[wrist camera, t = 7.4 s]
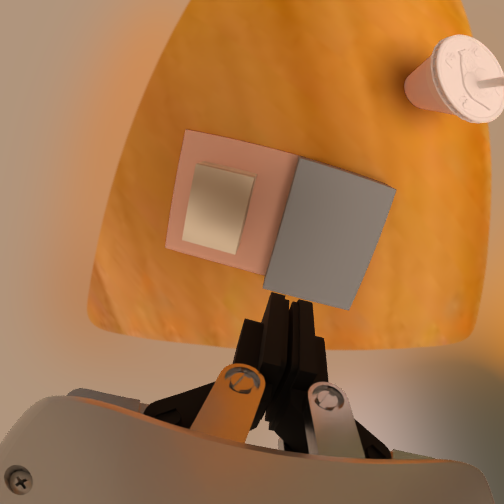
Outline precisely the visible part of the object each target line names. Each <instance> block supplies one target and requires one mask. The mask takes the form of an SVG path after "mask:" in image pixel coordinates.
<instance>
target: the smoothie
mask: <svg viewBox="0 0 504 504" xmlns="http://www.w3.org/2000/svg"><path fill="white" fill-rule="evenodd" d="M404 90H405V94H406V96H407V98H408V100H409V101H410V102H411V103H412V104H413V105H414V106H416V107H418V108H420V109H425V110H431V111H437V112H442V113H448V114H453V115H457V116H458V117H459V118H461V119H463V120H466V121H468V122H471V123H485V122H490V121H492V120H495V119H496V118H497V117H498V116H499V115H500V114H501V113H502V111H503V109H504V74H503V71H502V69H501V67H500V65H499V63H498V61H497V59H496V58H495V57H494V55H493V54H492V53H491V51H490V50H489V49H488V48H487V47H486V46H484V45H483V44H482V43H481V42H479V41H478V40H476V39H474V38H472V37H469V36H466V35H453V36H451V37H447V38H445V39H443V40H441V41H439V43H438V44H437V45H436V46H435V48H434V50H433V53H432V55H431V56H430V57H429V58H428V59H426V60H425V61H424V62H423V63H422V64H421V65H420V66H419V67H418V68H416V69H415V70H414V71H413V72H412V73H411V74H410V75H409V76H408V77H407V78H406V80H405V84H404Z"/></svg>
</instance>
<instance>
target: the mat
mask: <svg viewBox="0 0 504 504" xmlns="http://www.w3.org/2000/svg"><path fill="white" fill-rule="evenodd" d="M298 158H299V155H295V154H291V153H288V152H284V151H280V150H277V149H273V148H269V147H265V146H261V145H257V144H253V143H249V142H244V141H240V140H236V139H231V138H227V137H222V136H217V135H213V134H208V133H203V132H198V131H192V130H185V135H184V140H183V144H182V149H181V154H180V159H179V165H178V170H177V175H176V181H175V187H174V192H173V198H172V204H171V211H170V217H169V224H168V231H167V238H166V245H165V248H168V249H171V250H175V251H178V252H182V253H185V254H189V255H192V256H196V257H199V258H203V259H206V260H210V261H214V262H217V263H221V264H224V265H228V266H232V267H235V268H239V269H242V270H246V271H250V272H253V273H257V274H261V275H264V276H265V274H266V271H267V267H268V264H269V260H270V257H271V253H272V250H273V247H274V243H275V240H276V236H277V233H278V229H279V226H280V222H281V219H282V215H283V212H284V208H285V205H286V201H287V198H288V194H289V191H290V187H291V183H292V180H293V176H294V173H295V169H296V165H297V162H298ZM203 161H206V162H210V163H215V164H219V165H223V166H227V167H232V168H236V169H240V170H244V171H248V172H252V173H256V174H257V177H256V181H255V185H254V189H253V193H252V197H251V201H250V205H249V209H248V213H247V217H246V221H245V225H244V229H243V233H242V237H241V241H240V245H239V247H238V250H237V252H236V254H235V255H234V254H231V253H227V252H223V251H220V250H216V249H212V248H209V247H205V246H202V245H198V244H194V243H191V242H187V241H184V240H182V236H183V230H184V224H185V219H186V213H187V207H188V202H189V196H190V191H191V186H192V181H193V176H194V171H195V166H196V164H197V163H200V162H203Z"/></svg>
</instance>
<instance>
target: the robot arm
mask: <svg viewBox="0 0 504 504" xmlns="http://www.w3.org/2000/svg"><path fill="white" fill-rule="evenodd" d="M265 411H266V415H265V421H269V430H273V431H275V432H276V434H277V435H278V436H279V437H280V438H279V440H278V449H279V450H277V449H271V448H266V447H261V446H255V445H250V444H245V441H246V438H247V435H248V433H249V431H250V430H252V429H254V428H256V427H257V425H258V423H259V421H260V420H261V419H262V417H263V415H264V413H265ZM31 475H32V476H31ZM0 504H495V503H494V499H493V496H492V493H491V490H490V487H489V485H488V482H487V480H486V478H485V476H484V474H483V473H482V472H481V471H480V470H479V469H478V468H476V467H474V466H472V465H470V464H467V463H463V462H460V461H455V460H447V459H435V458H432V457H428V456H422V455H418V454H412V453H408V452H404V451H399V450H395V449H393V450H392V451H389V449H388V448H387V447H386V446H385V445H384V444H383V443H382V442H381V441H380V440H378V439H377V438H376V437H375V436H374V435H372V434H371V433H370V432H369V431H368V430H366V428H364V427H363V426H362V425H361V424H360V423H359V422H357V421H356V420H355V419H354V417H353V413H352V410H351V407H350V404H349V401H348V398H347V396H346V393H345V392H344V391H343V390H342V389H341V388H339V387H338V386H336V385H334V384H332V383H329V382H328V373H327V362H326V352H325V342H324V338H322V337H317V336H315V328H314V316H313V304H312V302H308V301H304V300H300V299H299V300H298V301H297V302H292V304H291V307H290V309H289V300H285V296H284V295H280V294H277V293H273V292H271V295H270V298H269V301H268V304H267V307H266V310H265V313H264V316H263V319H262V322H261V323H260V322H256V321H252V320H249V319H245V320H244V323H243V327H242V330H241V334H240V337H239V341H238V345H237V348H236V352H235V356H234V360H233V364H231V365H229V366H226V367H225V368H224V369H223V370H222V371H221V373H220V374H219V376H218V378H217V380H216V381H215V382H213V383H210V384H207V385H204V386H201V387H198V388H195V389H192V390H189V391H186V392H183V393H181V394H178V395H174V396H171V397H168V398H164V399H161V400H158V401H155V402H153V403H151V404H150V405H149V404H143V403H140V400H137V399H132V398H126V397H121V396H116V395H112V394H106V393H102V392H98V391H94V390H89V389H83V388H79V389H75V390H73V391H71V392H70V393H68V395H67V396H52V397H47V398H44V399H42V400H40V401H38V402H36V403H35V404H34V405H32V406H31V407H30V408H29V409H28V410H27V411H26V412H25V413H24V414H23V415H22V416H21V417H20V418H19V419H18V421H17V422H16V423H15V424H14V426H13V427H12V428H11V429H10V431H9V432H8V433H7V435H6V436H5V438H4V439H3V441H2V442H1V444H0Z"/></svg>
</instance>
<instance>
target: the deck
mask: <svg viewBox="0 0 504 504" xmlns="http://www.w3.org/2000/svg"><path fill="white" fill-rule="evenodd" d="M395 192H396V189H394V188H392V187H391V186H389V185H387V184H385V183H382V182H379V181H377V180H374V179H371V178H368V177H365V176H362V175H359V174H357V173H354V172H351V171H348V170H345V169H341V168H338V167H335V166H332V165H329V164H326V163H322V162H319V161H316V160H312V159H309V158H306V157H302V156H299V158H298V162H297V165H296V169H295V173H294V176H293V180H292V183H291V187H290V191H289V194H288V198H287V201H286V205H285V208H284V212H283V215H282V219H281V222H280V226H279V229H278V233H277V236H276V240H275V243H274V247H273V250H272V253H271V257H270V260H269V264H268V267H267V271H266V274H265V278H264V284H263V288H264V289H267V290H271V291H275V292H279V293H282V294H286V295H290V296H294V297H298V298H301V299H305V300H309V301H313V302H317V303H321V304H325V305H329V306H333V307H337V308H341V309H345V310H349V309H350V307H351V305H352V302H353V300H354V298H355V296H356V293H357V291H358V289H359V287H360V284H361V282H362V280H363V277H364V275H365V272H366V270H367V268H368V265H369V263H370V260H371V258H372V255H373V253H374V250H375V248H376V245H377V243H378V240H379V237H380V235H381V232H382V229H383V227H384V224H385V221H386V218H387V216H388V213H389V210H390V207H391V204H392V201H393V198H394V195H395Z"/></svg>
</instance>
